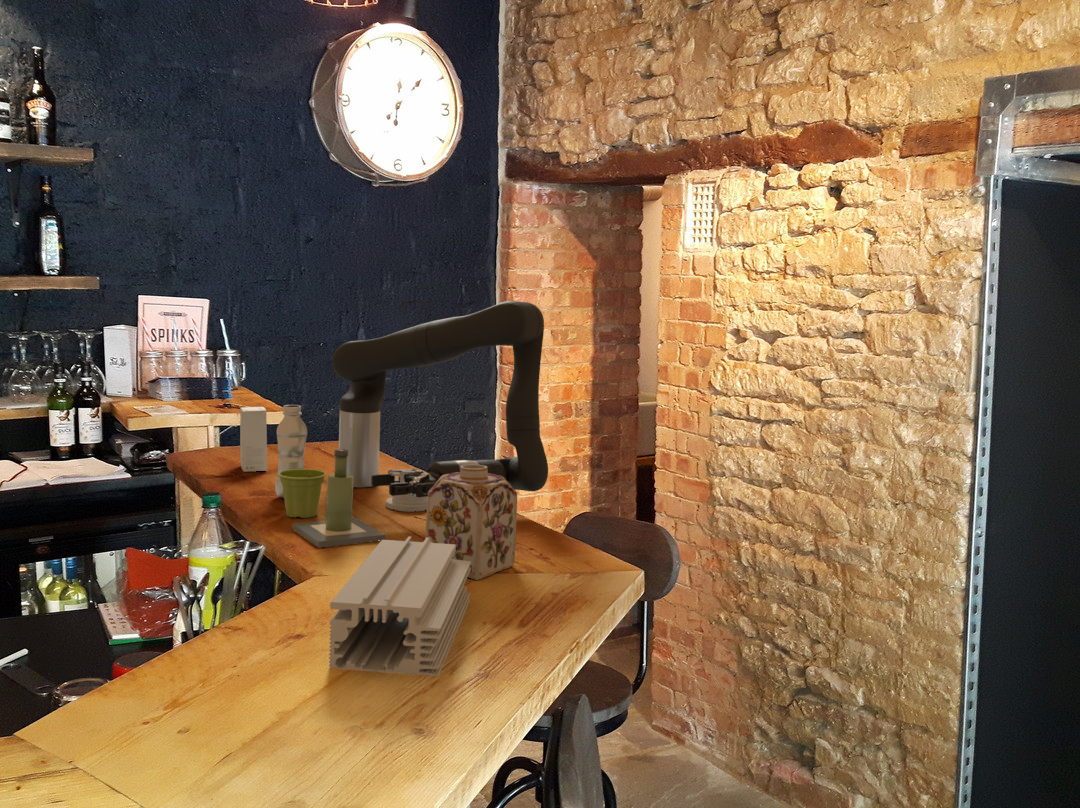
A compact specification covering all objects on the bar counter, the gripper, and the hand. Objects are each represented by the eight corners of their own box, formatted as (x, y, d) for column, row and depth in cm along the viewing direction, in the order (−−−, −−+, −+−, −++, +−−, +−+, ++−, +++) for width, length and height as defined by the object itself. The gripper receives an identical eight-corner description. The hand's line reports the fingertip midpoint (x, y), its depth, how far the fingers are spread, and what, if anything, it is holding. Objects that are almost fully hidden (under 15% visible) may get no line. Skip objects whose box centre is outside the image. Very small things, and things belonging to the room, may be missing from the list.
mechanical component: (427, 514, 218) (437, 504, 228) (428, 494, 217) (438, 484, 227) (381, 511, 219) (392, 500, 229) (381, 490, 218) (393, 480, 228)
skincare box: (267, 472, 250) (268, 410, 248) (241, 472, 248) (242, 410, 246) (264, 465, 258) (265, 405, 256) (239, 465, 256) (239, 405, 254)
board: (292, 529, 200) (292, 522, 200) (355, 523, 207) (355, 516, 207) (318, 548, 188) (318, 541, 188) (385, 540, 196) (385, 534, 195)
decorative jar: (477, 582, 174) (481, 476, 171) (422, 568, 180) (425, 465, 177) (516, 566, 184) (521, 465, 181) (463, 553, 190) (467, 456, 187)
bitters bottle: (321, 526, 198) (324, 448, 196) (345, 523, 201) (348, 447, 199) (331, 532, 194) (334, 453, 192) (355, 530, 197) (358, 452, 195)
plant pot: (268, 513, 211) (268, 471, 210) (307, 507, 218) (308, 466, 217) (294, 523, 205) (295, 480, 204) (334, 516, 212) (335, 474, 210)
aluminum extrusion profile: (469, 602, 164) (472, 540, 163) (438, 678, 134) (441, 603, 133) (380, 596, 165) (381, 534, 164) (328, 670, 135) (330, 595, 133)
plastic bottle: (268, 498, 224) (269, 406, 221) (287, 492, 230) (288, 402, 227) (293, 502, 221) (295, 409, 218) (312, 496, 227) (314, 405, 225)
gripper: (440, 454, 215) (366, 459, 207) (473, 467, 203) (396, 473, 195) (438, 490, 216) (365, 496, 208) (471, 505, 205) (395, 512, 196)
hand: (380, 485), depth 201 cm, fingers open, 8 cm apart
